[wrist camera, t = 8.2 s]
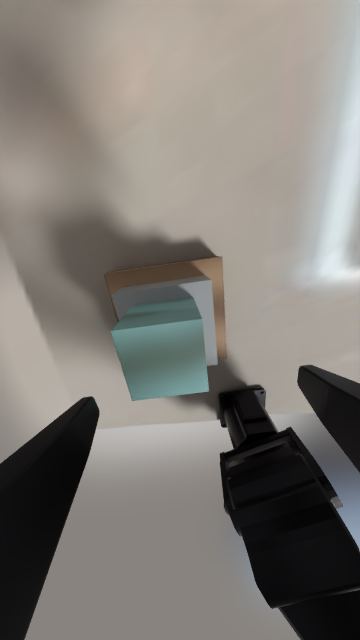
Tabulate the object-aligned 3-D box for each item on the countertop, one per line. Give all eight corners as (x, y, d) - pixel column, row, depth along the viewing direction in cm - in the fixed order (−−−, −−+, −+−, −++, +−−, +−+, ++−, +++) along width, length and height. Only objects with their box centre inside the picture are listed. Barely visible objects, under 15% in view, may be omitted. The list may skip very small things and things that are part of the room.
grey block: (211, 348, 19) (217, 364, 16) (140, 357, 19) (135, 375, 17) (205, 275, 16) (211, 279, 13) (122, 287, 16) (111, 294, 14)
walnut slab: (220, 345, 22) (226, 358, 20) (137, 356, 23) (132, 370, 20) (215, 256, 18) (222, 256, 16) (114, 271, 19) (103, 274, 16)
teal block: (199, 350, 16) (209, 391, 11) (145, 357, 16) (132, 400, 11) (193, 297, 14) (202, 318, 9) (132, 305, 14) (110, 331, 9)
